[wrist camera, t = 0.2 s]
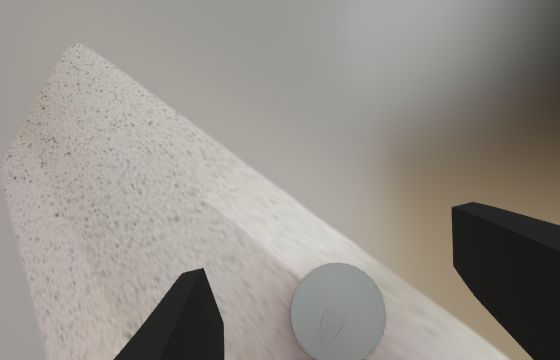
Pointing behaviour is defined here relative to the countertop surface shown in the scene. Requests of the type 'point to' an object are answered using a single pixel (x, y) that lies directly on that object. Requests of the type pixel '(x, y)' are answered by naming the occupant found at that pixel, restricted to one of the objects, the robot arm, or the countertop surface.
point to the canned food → (337, 313)
